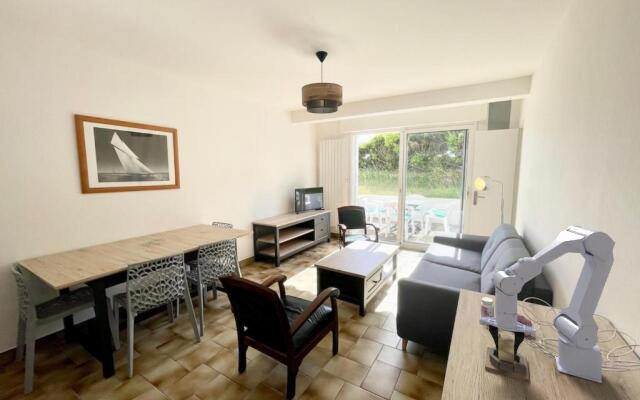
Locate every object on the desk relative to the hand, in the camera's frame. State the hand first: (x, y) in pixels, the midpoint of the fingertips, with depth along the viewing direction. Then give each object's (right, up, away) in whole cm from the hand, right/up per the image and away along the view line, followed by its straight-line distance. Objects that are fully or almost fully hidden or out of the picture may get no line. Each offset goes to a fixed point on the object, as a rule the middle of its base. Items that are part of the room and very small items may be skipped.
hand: (506, 350), depth 86 cm
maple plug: (0, -2, 0) cm, 2 cm away
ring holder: (0, -5, 0) cm, 5 cm away
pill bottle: (+11, -2, +27) cm, 29 cm away
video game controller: (+16, -2, +19) cm, 25 cm away
